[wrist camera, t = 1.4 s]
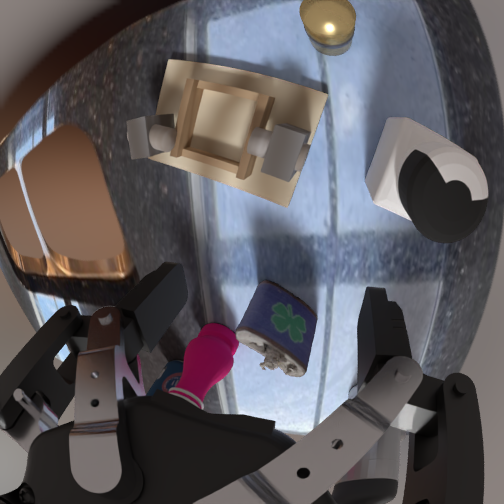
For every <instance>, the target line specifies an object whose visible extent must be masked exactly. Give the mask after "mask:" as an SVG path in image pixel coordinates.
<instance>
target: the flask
mask: <svg viewBox="0 0 504 504" xmlns="http://www.w3.org/2000/svg"><path fill="white" fill-rule="evenodd" d="M317 319H318V318H317V315H316V314H315V312H314V311H313V310H312V309H311V308H310V307H309V306H308V305H306V303H305V302H304V301H302V300H300V298H298V297H296V296H295V295H293V294H292V293H290V292H289V291H287V290H286V289H284V288H283V287H281V286H279V285H278V284H276V283H274V282H271V281H268V280H265V281H262V283H260V284H259V285H258V286H257V288H256V291H255V293H254V295H253V298H252V299H251V301H250V303H249V306H248V308H247V310H246V312H245V314H244V316H243V318H242V320H241V322H240V324H239V325H238V327H237V329H236V333H235V335H236V339H237V340H238V341H239V342H241V343H242V344H244V345H246V346H248V347H249V348H252V349H253V350H255V351H257V352H258V353H260V354H262V355H263V356H265V359H264V362H263V363H260V366H261V367H262V369H263V370H266V369H265V368H264V367H265V366H266V367H268V368H269V369H270V370H274V368H275V369H276V368H278V366H279V367H280V368H281V370H283V371H284V373H285V374H286V375H289V376H294V377H301V376H303V375H304V374H305V373H306V371H307V367H308V362H309V357H310V353H311V347H312V342H313V339H314V334H315V329H316V323H317Z"/></svg>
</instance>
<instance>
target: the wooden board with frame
mask: <svg viewBox="0 0 504 504" xmlns="http://www.w3.org/2000/svg"><path fill="white" fill-rule="evenodd" d="M327 98H328V94H325V93H323V92H320V91H317V90H314V89H311V88H308V87H305V86H302V85H299V84H295V83H292V82H289V81H285V80H282V79H278V78H274V77H271V76H267V75H263V74H259V73H254V72H250V71H245V70H240V69H235V68H230V67H225V66H219V65H213V64H206V63H199V62H191V61H182V60H171V59H169V60H168V64H167V68H166V72H165V76H164V80H163V84H162V88H161V92H160V97H159V101H158V106H157V111H156V115H153V116H144V117H140V118H136V119H132V120H129V121H127V130H128V132H127V138H128V140H129V146H130V153H131V160H132V159H139V158H146V157H149V159H152V160H155V161H158V162H161V163H165V164H168V165H171V166H174V167H177V168H180V169H183V170H186V171H189V172H192V173H195V174H198V175H201V176H204V177H206V178H209V179H212V180H215V181H218V182H221V183H223V184H226V185H229V186H232V187H234V188H237V189H240V190H243V191H245V192H248V193H251V194H253V195H256V196H259V197H261V198H264V199H266V200H269V201H271V202H274V203H277V204H279V205H282V206H284V207H288V206H289V203H290V201H291V198H292V195H293V192H294V190H295V187H296V184H297V182H298V179H299V176H300V173H301V171H302V168H303V166H304V163H305V161H306V158H307V155H308V152H309V149H310V146H311V143H312V140H313V137H314V135H315V132H316V129H317V126H318V123H319V121H320V118H321V115H322V112H323V109H324V106H325V103H326V101H327Z"/></svg>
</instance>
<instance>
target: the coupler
mask: <svg viewBox="0 0 504 504" xmlns="http://www.w3.org/2000/svg"><path fill="white" fill-rule="evenodd" d="M300 17H301V19H302V21H303V24H304V28H305V30H306V33H307V35H308V37H309V39H310V41H311V44H312V45H313V47H314V48H315V49H316V50H317V51H319V52H320V53H322V54H325V55H329V56H337V55H341V54H343V53H345V52H346V51H348V49H349V48H350V46H351V43H352V38H353V35H354V30H355V21H356V13H355V10H354V8H353V6H352V5H351V3H350V2H349V1H348V0H303V2H302V3H301V6H300Z"/></svg>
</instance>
